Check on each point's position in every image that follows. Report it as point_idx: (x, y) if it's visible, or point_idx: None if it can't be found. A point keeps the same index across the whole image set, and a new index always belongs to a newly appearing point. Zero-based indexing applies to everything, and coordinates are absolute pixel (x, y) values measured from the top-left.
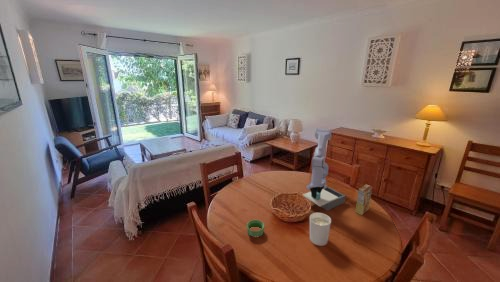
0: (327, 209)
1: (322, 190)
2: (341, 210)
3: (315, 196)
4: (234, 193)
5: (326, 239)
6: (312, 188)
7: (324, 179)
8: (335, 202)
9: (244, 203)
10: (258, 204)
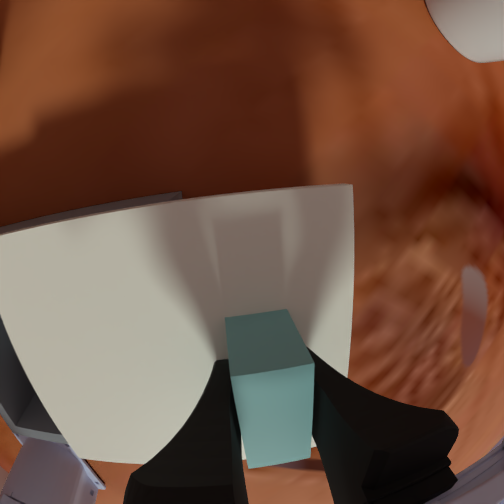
0: (178, 192)
1: (78, 427)
2: (56, 142)
3: (314, 361)
4: (462, 463)
5: None
6: (443, 470)
7: (14, 481)
8: (43, 220)
9: (494, 411)
10: (479, 402)
